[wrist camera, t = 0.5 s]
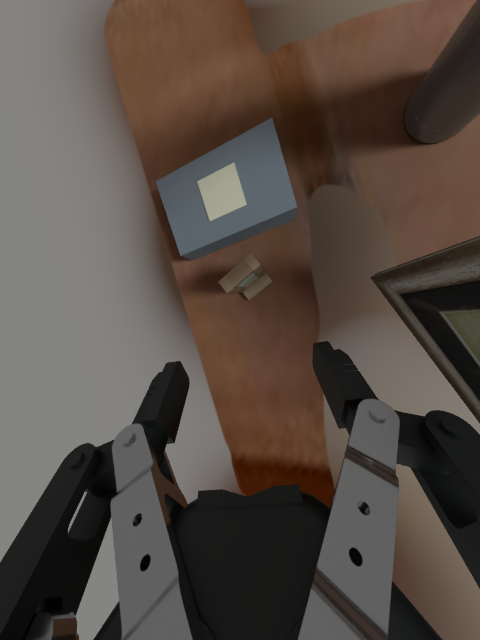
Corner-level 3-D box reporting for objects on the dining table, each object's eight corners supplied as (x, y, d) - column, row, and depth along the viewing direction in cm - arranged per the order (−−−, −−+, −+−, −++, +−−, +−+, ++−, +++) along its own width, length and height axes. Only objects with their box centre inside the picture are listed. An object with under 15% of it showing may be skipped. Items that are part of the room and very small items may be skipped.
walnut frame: (272, 281, 38) (269, 276, 25) (249, 300, 39) (235, 304, 26) (254, 258, 38) (241, 240, 25) (232, 277, 39) (209, 270, 27)
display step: (273, 142, 34) (272, 116, 29) (294, 218, 35) (297, 206, 30) (170, 195, 39) (154, 180, 34) (192, 260, 40) (179, 255, 35)
